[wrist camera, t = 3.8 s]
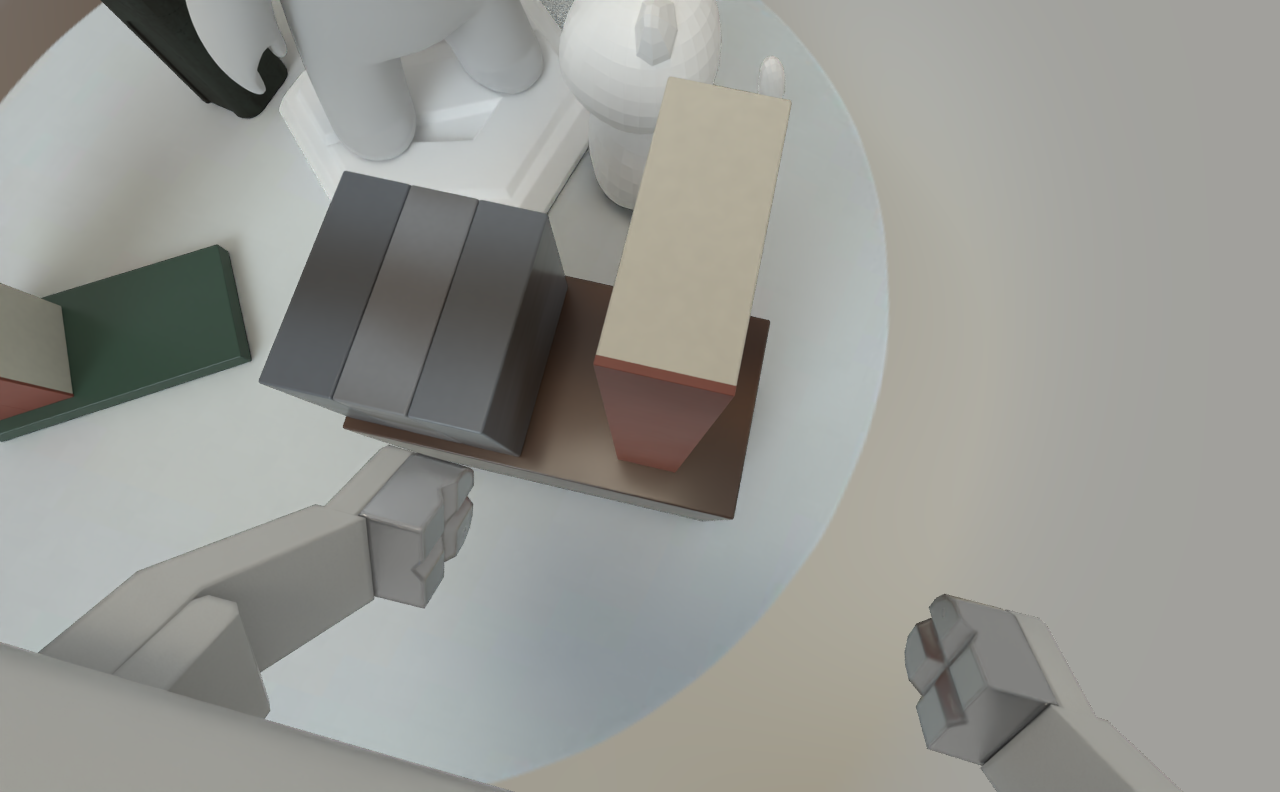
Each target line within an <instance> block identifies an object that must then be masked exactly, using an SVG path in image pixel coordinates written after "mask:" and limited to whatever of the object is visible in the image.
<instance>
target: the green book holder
mask: <svg viewBox="0 0 1280 792" xmlns="http://www.w3.org/2000/svg"><path fill="white" fill-rule="evenodd" d="M250 361H251V357H250V352H249V347H248V343H247V338H246V333H245V329H244V324H243V319H242V315H241V310H240V305H239V300H238V296H237V291H236V286H235V282H234V277H233V272H232V267H231V263H230V258H229V253H228V251H226V250H225V249H223V248H222V247H220V246H219V245H214V246H211V247H207V248H204V249H201V250H197V251H194V252H191V253H188V254H184V255H181V256H178V257H175V258H171V259H168V260H165V261H161V262H158V263H155V264H152V265H148V266H145V267H142V268H138V269H135V270H132V271H129V272H125V273H122V274H119V275H115V276H112V277H109V278H106V279H102V280H99V281H96V282H93V283H89V284H86V285H83V286H79V287H76V288H73V289H70V290H66V291H63V292H60V293H56V294H53V295H50V296H47V297H43V298H38V297H36V296H33V295H31V294H28V293H25V292H23V291H20V290H18V289H15V288H12V287H10V286H7V285H4V284H2V283H0V442H3V441H7V440H10V439H13V438H16V437H19V436H22V435H25V434H28V433H31V432H34V431H37V430H40V429H43V428H47V427H50V426H53V425H56V424H59V423H62V422H65V421H68V420H71V419H74V418H77V417H80V416H83V415H86V414H90V413H93V412H96V411H99V410H102V409H105V408H108V407H111V406H114V405H117V404H120V403H123V402H126V401H130V400H133V399H136V398H139V397H142V396H145V395H148V394H151V393H154V392H157V391H160V390H163V389H166V388H170V387H173V386H176V385H179V384H182V383H185V382H188V381H191V380H194V379H197V378H200V377H203V376H206V375H210V374H213V373H216V372H219V371H222V370H225V369H228V368H231V367H234V366H237V365H240V364H243V363H246V362H250Z"/></svg>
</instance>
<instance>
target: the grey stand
mask: <svg viewBox="0 0 1280 792" xmlns="http://www.w3.org/2000/svg"><path fill="white" fill-rule="evenodd" d="M613 287H614V286H610V285H605V284H601V283H596V282H592V281H587V280H582V279H578V278H573V277H569V276H565V275H564V271H563V267H562V264H561V260H560V257H559V253H558V250H557V246H556V242H555V239H554V235H553V232H552V228H551V225H550V221H549V217H548V215H547V214H546V213H541V212H537V211H532V210H527V209H523V208H518V207H513V206H509V205H504V204H499V203H494V202H490V201H485V200H480V201H479V200H478V199H476V198H471V197H466V196H462V195H457V194H452V193H448V192H443V191H438V190H434V189H429V188H424V187H420V186H415V185H412V186H411V185H409V184H406V183H401V182H397V181H392V180H387V179H383V178H378V177H373V176H369V175H364V174H359V173H355V172H350V171H344V172H343V174H342V176H341V179H340V181H339V184H338V186H337V189H336V191H335V193H334V196H333V198H332V201H331V203H330V206H329V208H328V211H327V213H326V216H325V218H324V221H323V223H322V225H321V228H320V230H319V233H318V235H317V238H316V240H315V243H314V245H313V248H312V250H311V253H310V255H309V258H308V260H307V262H306V265H305V267H304V270H303V272H302V275H301V277H300V280H299V282H298V285H297V287H296V290H295V292H294V295H293V297H292V299H291V302H290V304H289V307H288V309H287V312H286V314H285V317H284V319H283V322H282V324H281V327H280V329H279V332H278V334H277V336H276V339H275V341H274V344H273V346H272V349H271V351H270V354H269V356H268V359H267V361H266V364H265V366H264V369H263V371H262V373H261V376H260V378H259V383H261V384H263V385H266V386H269V387H271V388H274V389H276V390H279V391H282V392H284V393H287V394H290V395H292V396H295V397H298V398H300V399H303V400H305V401H308V402H311V403H313V404H316V405H319V406H321V407H324V408H327V409H329V410H332V411H335V412H337V413H340V414H342V415H345V416H346V419H345V422H344V425H343V428H344V429H347V430H350V431H353V432H356V433H359V434H362V435H365V436H368V437H371V438H374V439H377V440H380V441H383V442H386V443H389V444H392V445H395V446H398V447H401V448H404V449H407V450H410V451H413V452H416V453H421V454H424V455H428V456H431V457H435V458H438V459H441V460H445V461H449V462H453V463H457V464H462V465H466V466H470V467H474V468H479V469H483V470H487V471H491V472H496V473H500V474H504V475H508V476H513V477H517V478H521V479H525V480H530V481H534V482H538V483H542V484H547V485H551V486H555V487H559V488H564V489H568V490H572V491H576V492H581V493H585V494H589V495H593V496H597V497H602V498H606V499H610V500H614V501H619V502H623V503H627V504H631V505H636V506H640V507H644V508H648V509H653V510H657V511H661V512H665V513H670V514H674V515H678V516H682V517H687V518H691V519H695V520H699V521H715V520H731V519H733V518H734V514H735V509H736V503H737V498H738V492H739V487H740V482H741V476H742V471H743V466H744V460H745V455H746V450H747V444H748V439H749V433H750V428H751V423H752V417H753V412H754V407H755V401H756V396H757V391H758V385H759V380H760V374H761V369H762V364H763V358H764V353H765V348H766V342H767V337H768V331H769V326H770V321H769V320H766V319H761V318H757V317H752V316H750V319H749V324H748V329H747V334H746V339H745V345H744V350H743V355H742V360H741V365H740V370H739V375H738V380H737V385H736V392H735V396H734V397H733V399H732V400H731V401H730V402H729V404H728V405H727V406H726V408H725V409H724V410H723V412H722V413H721V414H720V415H719V417H718V418H717V419H716V421H715V422H714V423H713V424H712V426H711V427H710V428H709V430H708V431H707V432H706V434H705V435H704V436H703V437H702V439H701V440H700V441H699V443H698V444H697V445H696V446H695V448H694V449H693V450H692V452H691V453H690V454H689V456H688V457H687V458H686V459H685V461H684V462H683V463H682V465H681V466H680V467H679V468H678V470H677V471H676V472H675V473H674V472H670V471H666V470H661V469H657V468H653V467H648V466H644V465H640V464H636V463H631V462H627V461H623V460H618V459H617V455H616V451H615V447H614V443H613V439H612V435H611V431H610V427H609V424H608V420H607V416H606V412H605V408H604V404H603V400H602V396H601V393H600V389H599V385H598V381H597V377H596V373H595V369H594V365H593V362H594V359H595V355H596V352H597V348H598V344H599V341H600V337H601V333H602V329H603V325H604V321H605V318H606V314H607V310H608V306H609V302H610V298H611V295H612V291H613Z"/></svg>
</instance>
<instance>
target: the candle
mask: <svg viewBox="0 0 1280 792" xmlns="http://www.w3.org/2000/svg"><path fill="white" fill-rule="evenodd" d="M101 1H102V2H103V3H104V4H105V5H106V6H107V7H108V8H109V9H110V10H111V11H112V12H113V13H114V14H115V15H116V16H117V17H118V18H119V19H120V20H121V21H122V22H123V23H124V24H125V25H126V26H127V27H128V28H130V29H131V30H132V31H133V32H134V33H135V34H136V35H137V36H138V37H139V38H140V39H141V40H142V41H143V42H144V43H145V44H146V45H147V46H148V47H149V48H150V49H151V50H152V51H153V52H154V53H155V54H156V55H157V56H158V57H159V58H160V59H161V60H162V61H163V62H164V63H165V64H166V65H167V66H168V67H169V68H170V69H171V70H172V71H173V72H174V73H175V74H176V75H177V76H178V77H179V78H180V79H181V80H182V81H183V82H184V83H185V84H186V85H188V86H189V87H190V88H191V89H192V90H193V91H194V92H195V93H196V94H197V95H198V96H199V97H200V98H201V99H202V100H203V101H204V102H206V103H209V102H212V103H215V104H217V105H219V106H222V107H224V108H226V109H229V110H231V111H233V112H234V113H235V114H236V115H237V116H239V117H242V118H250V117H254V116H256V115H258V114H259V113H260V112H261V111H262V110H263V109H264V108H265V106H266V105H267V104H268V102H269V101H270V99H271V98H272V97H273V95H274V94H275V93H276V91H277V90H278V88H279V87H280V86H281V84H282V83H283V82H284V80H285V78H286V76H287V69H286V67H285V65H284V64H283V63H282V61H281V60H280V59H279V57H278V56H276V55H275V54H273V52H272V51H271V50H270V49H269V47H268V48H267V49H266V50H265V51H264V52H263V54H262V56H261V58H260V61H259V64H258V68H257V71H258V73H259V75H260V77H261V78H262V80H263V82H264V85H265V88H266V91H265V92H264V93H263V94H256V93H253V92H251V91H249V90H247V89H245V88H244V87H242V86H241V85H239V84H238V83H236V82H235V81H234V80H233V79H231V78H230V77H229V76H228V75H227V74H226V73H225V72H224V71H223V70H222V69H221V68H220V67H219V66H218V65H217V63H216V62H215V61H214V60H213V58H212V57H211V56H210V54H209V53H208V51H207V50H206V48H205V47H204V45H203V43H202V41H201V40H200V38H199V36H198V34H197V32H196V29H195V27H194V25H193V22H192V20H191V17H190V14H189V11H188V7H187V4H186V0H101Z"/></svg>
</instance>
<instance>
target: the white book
mask: <svg viewBox="0 0 1280 792" xmlns="http://www.w3.org/2000/svg"><path fill="white" fill-rule="evenodd" d="M791 105H792V103H791V101H790V100H786V99H781V98H776V97H771V96H766V95H761V94H756V93H751V92H746V91H741V90H736V89H731V88H726V87H721V86H716V85H711V84H706V83H701V82H697V81H692V80H687V79H682V78H677V77H672V76H671V77H669V78H668V80H667V84H666V88H665V91H664V95H663V99H662V103H661V107H660V111H659V114H658V118H657V122H656V126H655V130H654V134H653V137H652V141H651V145H650V149H649V153H648V157H647V160H646V164H645V168H644V172H643V176H642V180H641V183H640V187H639V191H638V195H637V199H636V203H635V206H634V210H633V214H632V218H631V222H630V226H629V229H628V233H627V237H626V241H625V245H624V249H623V252H622V256H621V260H620V264H619V268H618V272H617V275H616V279H615V283H614V287H613V291H612V295H611V298H610V302H609V306H608V310H607V314H606V318H605V321H604V325H603V329H602V333H601V337H600V341H599V344H598V348H597V352H596V355H595V359H594V362H593V365H594V369H595V373H596V377H597V381H598V385H599V389H600V393H601V396H602V400H603V404H604V408H605V412H606V416H607V420H608V424H609V427H610V431H611V435H612V439H613V443H614V447H615V451H616V455H617V459H618V460H623V461H627V462H631V463H636V464H640V465H644V466H648V467H653V468H657V469H661V470H666V471H670V472H674V473H675V472H676V471H677V470H678V468H679V467H680V466H681V465H682V463H683V462H684V461H685V459H686V458H687V457H688V456H689V454H690V453H691V452H692V450H693V449H694V448H695V446H696V445H697V444H698V443H699V441H700V440H701V439H702V437H703V436H704V435H705V434H706V432H707V431H708V430H709V428H710V427H711V426H712V424H713V423H714V422H715V421H716V419H717V418H718V417H719V415H720V414H721V413H722V412H723V410H724V409H725V408H726V406H727V405H728V404H729V402H730V401H731V400H732V399H733V397H734V396H735V392H736V385H737V380H738V375H739V370H740V365H741V360H742V355H743V350H744V345H745V339H746V334H747V329H748V324H749V319H750V314H751V309H752V304H753V299H754V294H755V288H756V283H757V278H758V273H759V268H760V263H761V258H762V253H763V248H764V242H765V237H766V232H767V227H768V222H769V217H770V212H771V207H772V202H773V197H774V191H775V186H776V181H777V176H778V171H779V166H780V161H781V156H782V151H783V146H784V140H785V135H786V130H787V125H788V120H789V115H790V110H791Z"/></svg>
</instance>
